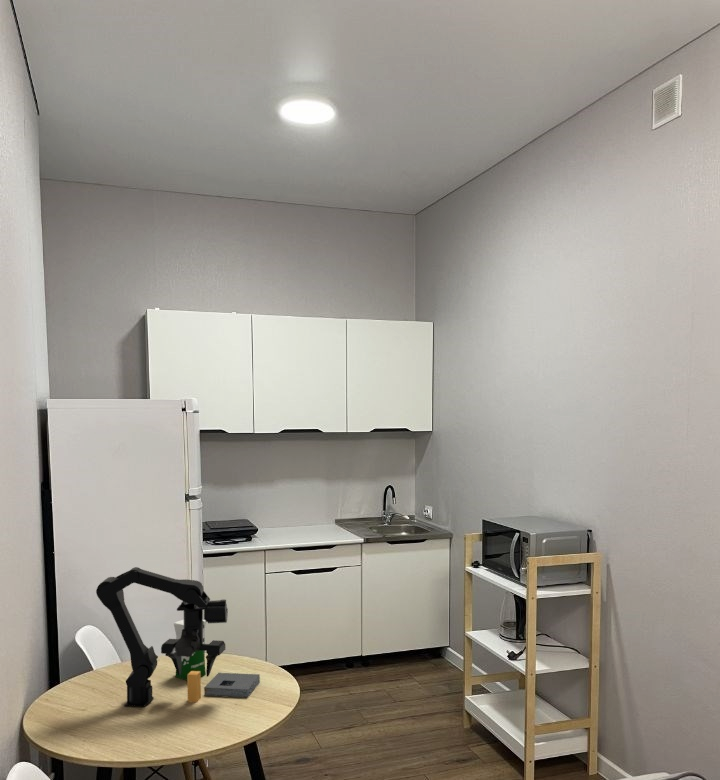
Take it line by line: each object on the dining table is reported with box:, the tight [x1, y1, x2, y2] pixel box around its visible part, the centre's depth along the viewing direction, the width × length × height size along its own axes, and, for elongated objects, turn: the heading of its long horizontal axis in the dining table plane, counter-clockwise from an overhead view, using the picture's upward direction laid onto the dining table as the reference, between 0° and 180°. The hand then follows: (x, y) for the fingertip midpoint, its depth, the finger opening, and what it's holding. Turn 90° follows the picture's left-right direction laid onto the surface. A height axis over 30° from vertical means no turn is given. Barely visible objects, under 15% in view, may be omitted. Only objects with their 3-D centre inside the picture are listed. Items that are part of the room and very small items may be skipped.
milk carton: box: [173, 619, 207, 681], centre depth 224 cm, size 9×9×20 cm
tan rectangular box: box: [186, 671, 202, 703], centre depth 205 cm, size 3×3×8 cm
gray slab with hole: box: [203, 672, 261, 699], centre depth 212 cm, size 14×12×2 cm
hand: (193, 675), depth 205 cm, fingers open, 9 cm apart
